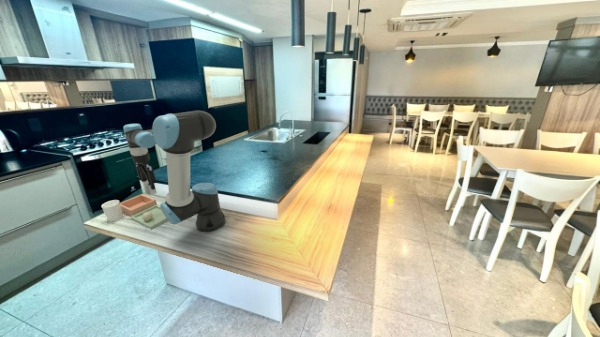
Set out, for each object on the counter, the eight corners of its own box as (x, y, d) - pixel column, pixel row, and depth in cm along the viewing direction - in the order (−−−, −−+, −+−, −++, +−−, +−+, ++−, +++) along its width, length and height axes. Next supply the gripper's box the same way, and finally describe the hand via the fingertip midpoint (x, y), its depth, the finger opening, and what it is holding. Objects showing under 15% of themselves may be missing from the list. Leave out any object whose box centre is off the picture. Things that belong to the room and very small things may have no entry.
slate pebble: (158, 193, 130) (156, 185, 129) (149, 196, 126) (147, 188, 125) (153, 191, 133) (151, 183, 131) (144, 194, 129) (142, 186, 127)
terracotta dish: (157, 206, 142) (155, 199, 140) (133, 218, 131) (130, 210, 129) (144, 201, 149) (142, 194, 147) (120, 211, 138) (117, 204, 136)
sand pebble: (155, 219, 129) (153, 211, 127) (146, 223, 125) (144, 216, 123) (150, 216, 131) (148, 209, 130) (141, 221, 127) (139, 213, 126)
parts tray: (177, 216, 132) (176, 213, 132) (151, 230, 121) (150, 226, 120) (157, 207, 141) (156, 204, 141) (131, 219, 130) (130, 216, 129)
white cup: (110, 224, 126) (103, 208, 122) (105, 219, 130) (99, 204, 126) (126, 217, 132) (121, 202, 128) (121, 213, 136) (116, 198, 132)
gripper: (157, 154, 119) (167, 193, 128) (138, 149, 127) (148, 186, 136) (141, 158, 113) (153, 199, 122) (123, 153, 121) (135, 191, 130)
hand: (151, 192), depth 129 cm, fingers closed on slate pebble, 5 cm apart
